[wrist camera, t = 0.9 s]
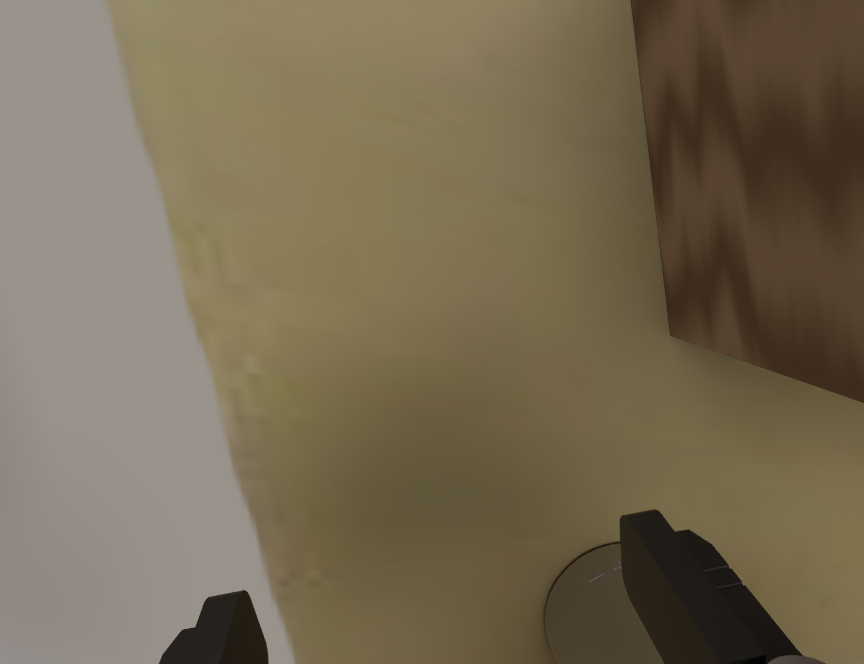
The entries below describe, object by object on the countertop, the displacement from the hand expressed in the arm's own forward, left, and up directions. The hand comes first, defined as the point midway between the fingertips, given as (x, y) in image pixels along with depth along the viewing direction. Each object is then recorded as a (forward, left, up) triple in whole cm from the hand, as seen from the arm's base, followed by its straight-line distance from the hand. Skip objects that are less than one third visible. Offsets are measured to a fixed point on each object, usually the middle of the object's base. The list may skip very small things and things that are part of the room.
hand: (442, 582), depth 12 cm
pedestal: (+9, -22, -19) cm, 30 cm away
